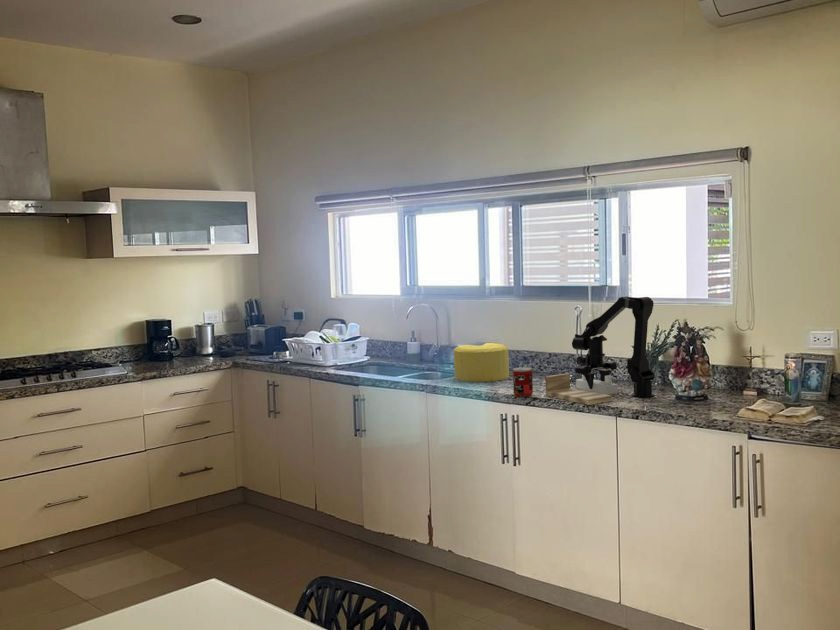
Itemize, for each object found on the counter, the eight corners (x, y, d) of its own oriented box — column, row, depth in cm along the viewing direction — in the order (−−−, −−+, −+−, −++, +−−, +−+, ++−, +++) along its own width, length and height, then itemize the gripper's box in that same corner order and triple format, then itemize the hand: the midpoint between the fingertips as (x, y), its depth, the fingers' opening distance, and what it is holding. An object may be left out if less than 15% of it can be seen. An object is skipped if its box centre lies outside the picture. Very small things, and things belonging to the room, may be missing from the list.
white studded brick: (618, 393, 324) (617, 375, 324) (606, 395, 322) (606, 377, 321) (587, 387, 342) (586, 370, 342) (576, 388, 340) (575, 371, 339)
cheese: (472, 371, 397) (471, 341, 396) (519, 374, 382) (518, 343, 380) (444, 379, 376) (443, 348, 374) (492, 383, 361) (490, 350, 359)
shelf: (612, 400, 309) (611, 380, 309) (589, 405, 303) (588, 384, 302) (568, 392, 331) (567, 373, 330) (545, 395, 325) (545, 376, 324)
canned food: (510, 394, 332) (509, 368, 331) (526, 392, 335) (526, 366, 334) (519, 397, 325) (518, 370, 324) (536, 395, 328) (535, 368, 327)
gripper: (598, 347, 342) (599, 382, 344) (565, 351, 333) (566, 388, 334) (617, 349, 333) (618, 386, 334) (584, 354, 323) (585, 391, 325)
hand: (596, 388), depth 332 cm, fingers closed on white studded brick, 6 cm apart
